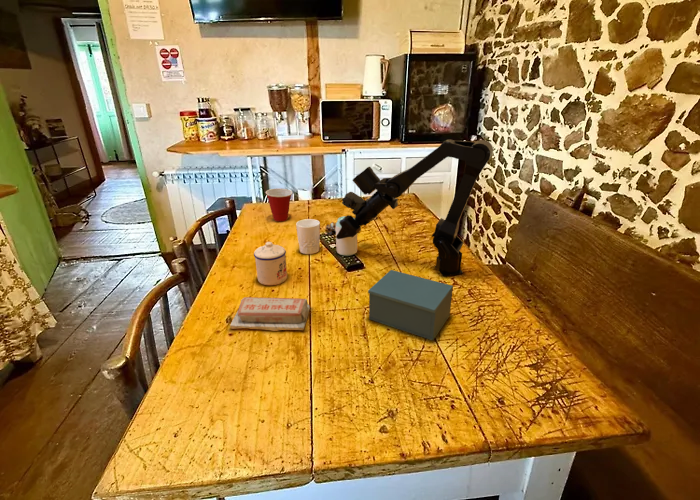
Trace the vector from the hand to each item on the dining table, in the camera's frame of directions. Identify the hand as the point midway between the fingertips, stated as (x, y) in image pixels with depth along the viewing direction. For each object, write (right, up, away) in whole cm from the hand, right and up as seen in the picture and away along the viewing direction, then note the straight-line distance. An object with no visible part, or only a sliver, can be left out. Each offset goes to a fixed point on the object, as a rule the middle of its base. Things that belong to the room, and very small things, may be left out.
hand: (343, 232), depth 131 cm
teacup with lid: (-21, -14, -12) cm, 28 cm away
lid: (+17, -15, -37) cm, 43 cm away
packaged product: (-17, -23, -33) cm, 44 cm away
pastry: (-1, +1, +20) cm, 20 cm away
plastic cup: (-26, +7, +33) cm, 43 cm away
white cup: (-12, -6, +4) cm, 14 cm away
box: (+17, -22, -33) cm, 43 cm away
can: (+1, -7, +2) cm, 7 cm away
